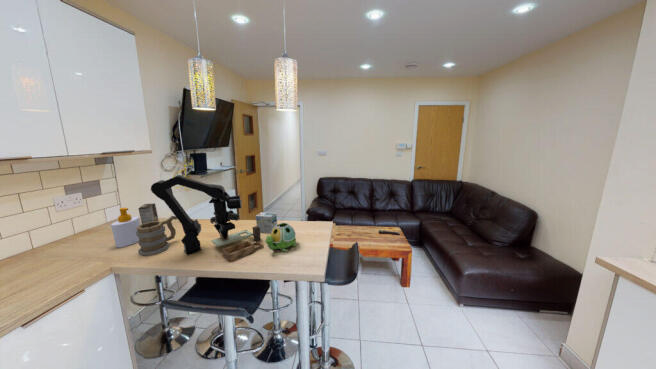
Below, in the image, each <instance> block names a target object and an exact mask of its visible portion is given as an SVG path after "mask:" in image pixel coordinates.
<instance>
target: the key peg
mask: <svg viewBox="0 0 656 369" xmlns="http://www.w3.org/2000/svg"><path fill="white" fill-rule="evenodd" d="M252 234H253V242H254V243H255V242H261V240H262V238H261V232H260V227H258V226H257V225H255V226H253V227H252Z"/></svg>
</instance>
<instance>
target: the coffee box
mask: <svg viewBox="0 0 656 369" xmlns="http://www.w3.org/2000/svg"><path fill="white" fill-rule="evenodd" d="M137 209H138V213H139V219H140V224H144V223H147V222H152V221H160V220H159V217H158V216H159V215H158V210H157V206H156V203H144V204H143V205H141V206H140V207H138V208H137Z"/></svg>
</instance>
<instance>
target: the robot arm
mask: <svg viewBox="0 0 656 369" xmlns="http://www.w3.org/2000/svg"><path fill="white" fill-rule="evenodd" d="M177 185H179V186H182V187H185V188H189V189H192V190H195V191H199V192H202V193H205V194H206V195H207V196H209V197H210V198H211V199H210V200H209V201H208V203H209V204H213V209H214V210H213V215H214V216H212V217H211V218H210V219H209V220H210V221H209V222H210V224H213V227H214V228H215V229H216V231H217V233H218V234H219V235H220V233H221V235H222V236H223V238H224V239H227V235H229V231H231V230H235V229H236V225H235V223H233V222H231V221H235V222H236V221H237V222H238V220H239V218H240V217H239V216H240V214H238V213H236V212H234V210H235V209H236V210H237V209H242V208H243V206H242V199H241V195H240V194H238V195H232V196H231V195H229V193H228V192H227V191H226V190H225V187H224V186H223V185H221V184H212V183H211V184H210V183H205V182H201V181H198V180H195V179H192V178H189V177H185V176H183V175H181V174H179V175H178V174H177V175H175V176H174V177H171V178H169V179H166V180H163V179H161V180H158V181H157V182H154V183H153V184H151V185H150V191H151V193H152V194H154V195H155V196H156V197H157V198H158V199H160V200H161V201H163V202H164V203H165V205H167V207H168V208H169V210H170V211H171V212H172V213H173V216H176V217H177V219H176V220H178V221H179V223H180V224H181V226H182V231H183V233H184V236H183V237H182V239H181V240H180V241H181V243H182V244H183V248H184V249H183V252H184V253H185V254H186V256H188V255H192V254H195V253H198V252H201V251H202V247H201V241H200V240H199V238H198V237H199V235H200V233H201V231H202V224H201V223H200V222H199V221H198V218H197V219H195V220H194V219H192V218H191V217H190V215H189V214H187V212H186V211H185V209H184V208H183V206H182V205H181V204H180V202H179V201H178V199H177V198H176V197H175V195H174V192H173V189H172V188H173V187H175V186H177ZM227 208H228V211H227Z"/></svg>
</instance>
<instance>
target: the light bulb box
mask: <svg viewBox="0 0 656 369" xmlns="http://www.w3.org/2000/svg"><path fill="white" fill-rule="evenodd" d="M277 217H278V216H277V212H264V211H263V212H262V211H261V212H259V213H257V214H256V215H255V221H256V222H255V223H256V226H258V227H260V233H261V234H264V233H265V234H271V232H272V230H273V228H274V227H275V226H276V225H278V218H277Z"/></svg>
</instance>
